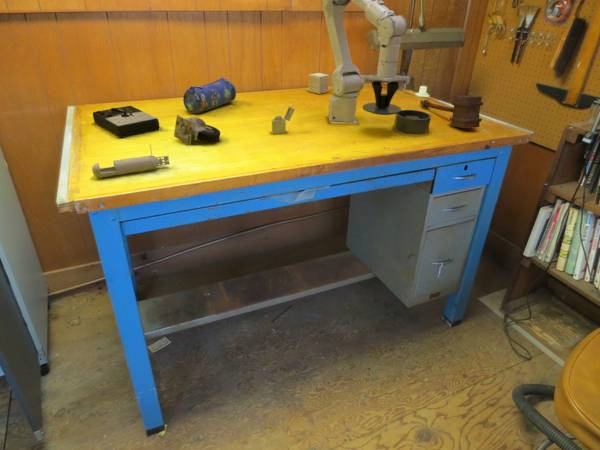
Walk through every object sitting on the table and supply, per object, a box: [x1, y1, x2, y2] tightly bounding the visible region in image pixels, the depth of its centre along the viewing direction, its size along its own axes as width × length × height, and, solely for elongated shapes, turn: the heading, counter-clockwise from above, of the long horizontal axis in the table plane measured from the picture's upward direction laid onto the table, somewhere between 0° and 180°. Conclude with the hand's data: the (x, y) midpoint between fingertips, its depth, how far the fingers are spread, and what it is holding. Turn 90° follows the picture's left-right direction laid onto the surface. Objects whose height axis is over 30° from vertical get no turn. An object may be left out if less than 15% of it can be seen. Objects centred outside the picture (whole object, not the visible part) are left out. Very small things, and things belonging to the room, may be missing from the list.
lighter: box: [271, 106, 295, 135], centre depth 133 cm, size 7×2×8 cm, turn 112°
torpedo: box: [91, 144, 170, 179], centre depth 103 cm, size 18×5×6 cm, turn 118°
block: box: [405, 116, 420, 119], centre depth 140 cm, size 4×4×4 cm
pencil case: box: [182, 77, 237, 115], centre depth 153 cm, size 22×9×10 cm, turn 150°
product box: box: [308, 72, 330, 95], centre depth 180 cm, size 6×6×7 cm
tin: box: [393, 109, 432, 135], centre depth 139 cm, size 11×11×5 cm
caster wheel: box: [173, 114, 221, 146], centre depth 125 cm, size 7×11×10 cm
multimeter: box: [92, 105, 160, 139], centre depth 133 cm, size 13×19×5 cm
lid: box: [362, 93, 402, 116], centre depth 131 cm, size 12×12×5 cm
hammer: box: [420, 95, 484, 129], centre depth 153 cm, size 7×33×10 cm, turn 16°
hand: (382, 106), depth 132 cm, fingers closed on lid, 2 cm apart
